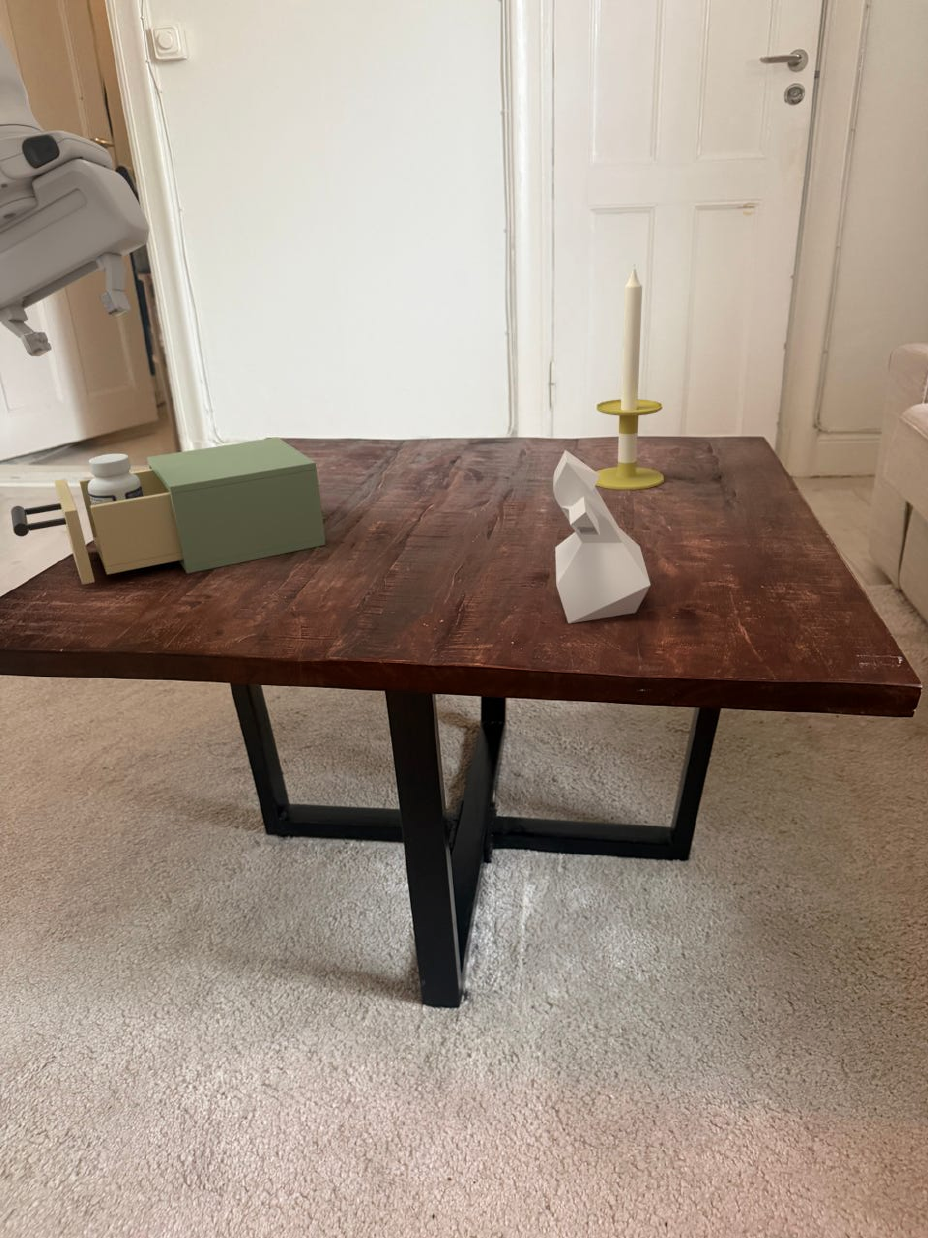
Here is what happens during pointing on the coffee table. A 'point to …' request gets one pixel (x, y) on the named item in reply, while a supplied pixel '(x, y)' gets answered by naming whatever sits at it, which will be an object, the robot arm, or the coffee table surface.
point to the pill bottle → (112, 479)
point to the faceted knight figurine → (594, 551)
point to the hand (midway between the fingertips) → (79, 333)
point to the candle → (629, 404)
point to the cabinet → (241, 502)
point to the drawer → (114, 527)
